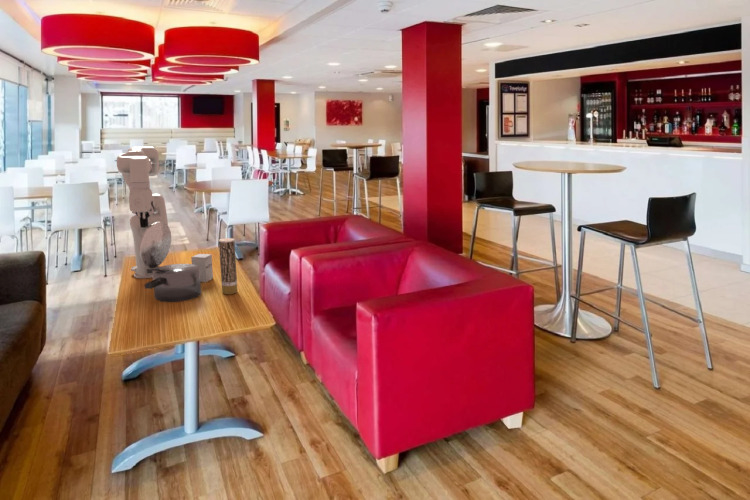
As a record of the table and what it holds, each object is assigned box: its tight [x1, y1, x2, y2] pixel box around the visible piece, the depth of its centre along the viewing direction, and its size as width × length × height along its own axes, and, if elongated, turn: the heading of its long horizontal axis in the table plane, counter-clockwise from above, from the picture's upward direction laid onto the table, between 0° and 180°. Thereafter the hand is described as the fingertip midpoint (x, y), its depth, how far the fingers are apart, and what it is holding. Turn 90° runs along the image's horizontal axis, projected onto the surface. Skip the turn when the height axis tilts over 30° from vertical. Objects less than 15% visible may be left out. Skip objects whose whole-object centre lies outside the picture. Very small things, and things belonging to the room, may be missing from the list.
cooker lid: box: [139, 222, 172, 268], centre depth 247 cm, size 21×21×4 cm
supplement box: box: [191, 253, 214, 283], centre depth 271 cm, size 7×7×13 cm
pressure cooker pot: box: [144, 263, 202, 303], centre depth 244 cm, size 23×30×12 cm
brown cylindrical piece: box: [218, 237, 238, 295], centre depth 250 cm, size 7×7×25 cm
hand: (144, 226), depth 246 cm, fingers closed
